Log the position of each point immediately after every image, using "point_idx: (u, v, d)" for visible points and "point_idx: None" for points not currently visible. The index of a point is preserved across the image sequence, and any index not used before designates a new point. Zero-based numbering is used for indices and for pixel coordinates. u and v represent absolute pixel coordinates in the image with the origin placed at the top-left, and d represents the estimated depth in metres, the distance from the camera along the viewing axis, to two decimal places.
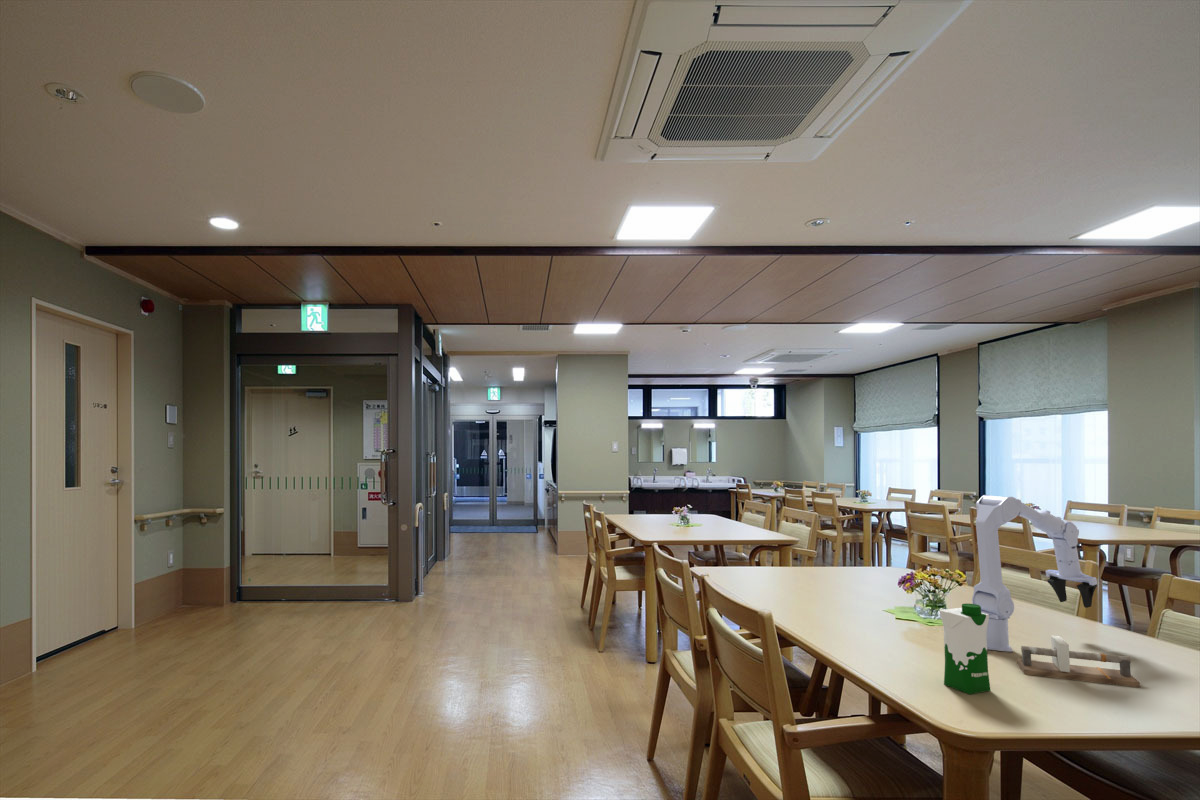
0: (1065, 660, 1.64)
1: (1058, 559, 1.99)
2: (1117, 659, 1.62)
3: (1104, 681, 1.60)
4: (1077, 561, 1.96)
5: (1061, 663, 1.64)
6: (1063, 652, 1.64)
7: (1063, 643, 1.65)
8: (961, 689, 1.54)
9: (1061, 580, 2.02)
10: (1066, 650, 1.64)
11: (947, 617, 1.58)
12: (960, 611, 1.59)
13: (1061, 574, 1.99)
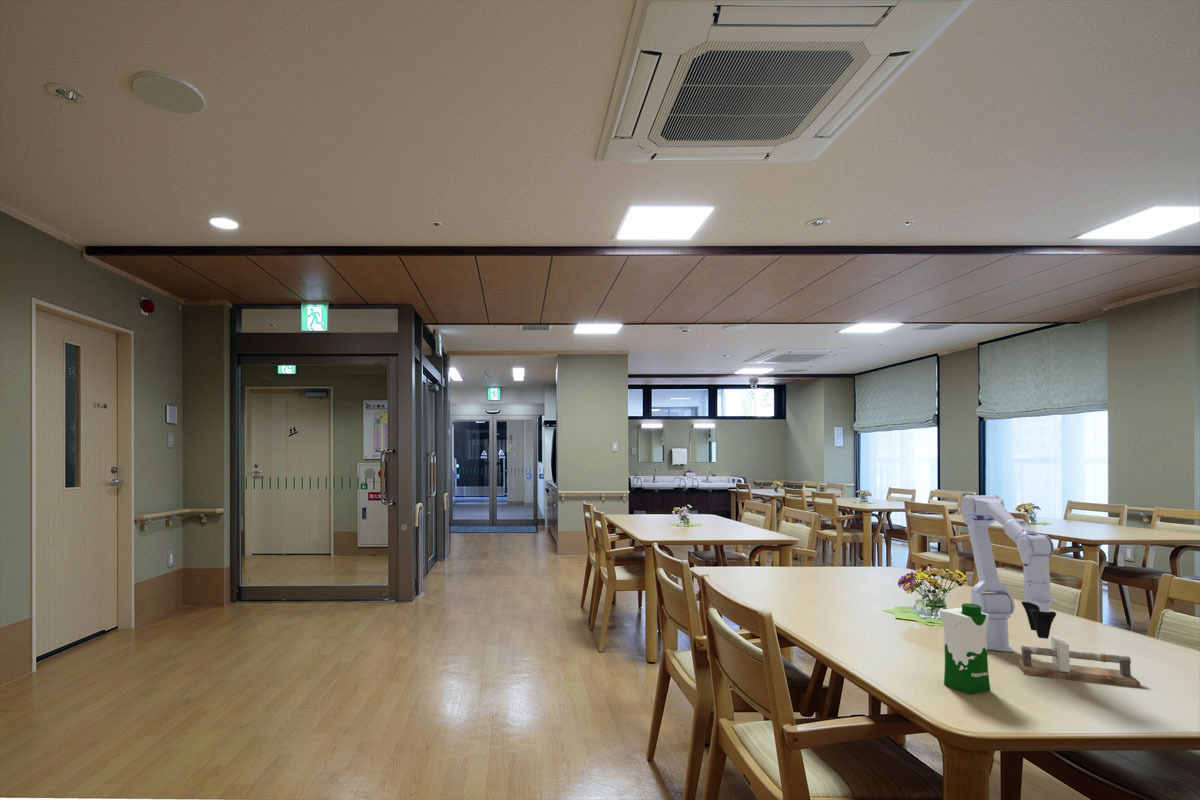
0: (1065, 660, 1.64)
1: None
2: (1117, 659, 1.62)
3: (1104, 681, 1.60)
4: (1041, 583, 1.68)
5: (1061, 663, 1.64)
6: (1063, 652, 1.64)
7: (1063, 643, 1.65)
8: (961, 689, 1.54)
9: (1037, 606, 1.73)
10: (1066, 650, 1.64)
11: (947, 617, 1.58)
12: (960, 611, 1.59)
13: None
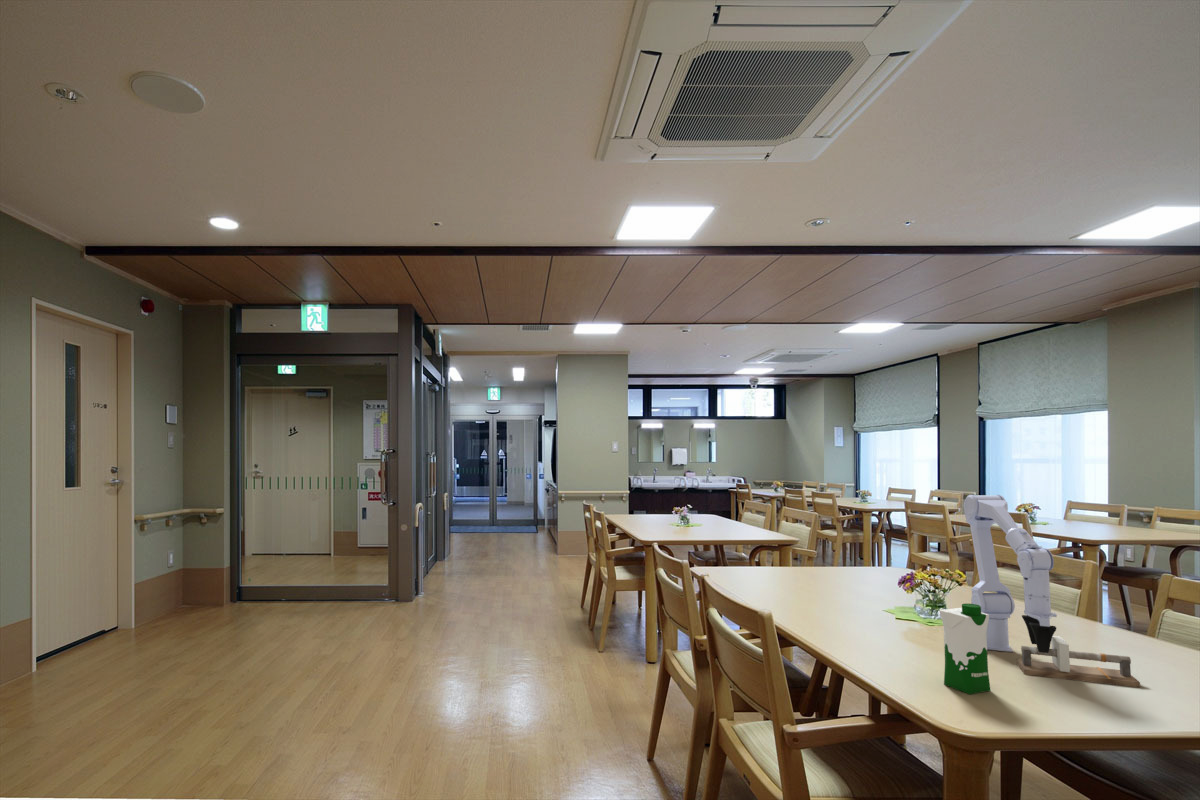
0: (1065, 660, 1.64)
1: None
2: (1117, 659, 1.62)
3: (1104, 681, 1.60)
4: (1041, 597, 1.68)
5: (1061, 663, 1.64)
6: (1063, 652, 1.64)
7: (1063, 643, 1.65)
8: (961, 689, 1.54)
9: (1037, 620, 1.73)
10: (1066, 650, 1.64)
11: (947, 617, 1.58)
12: (960, 611, 1.59)
13: None
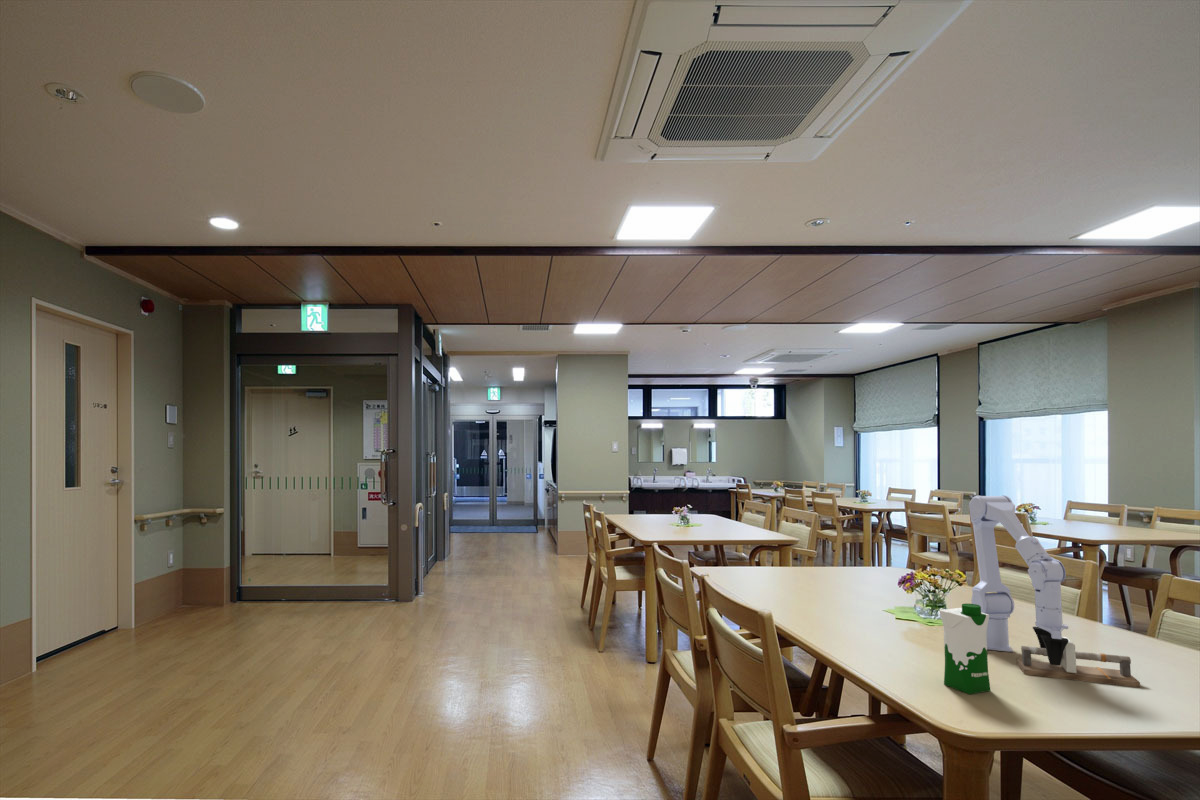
0: (1071, 661, 1.63)
1: None
2: (1117, 659, 1.62)
3: (1104, 681, 1.60)
4: (1053, 609, 1.67)
5: (1067, 664, 1.64)
6: (1069, 653, 1.64)
7: (1069, 644, 1.64)
8: (961, 689, 1.54)
9: (1049, 631, 1.72)
10: (1072, 651, 1.63)
11: (947, 617, 1.58)
12: (960, 611, 1.59)
13: (1036, 620, 1.71)
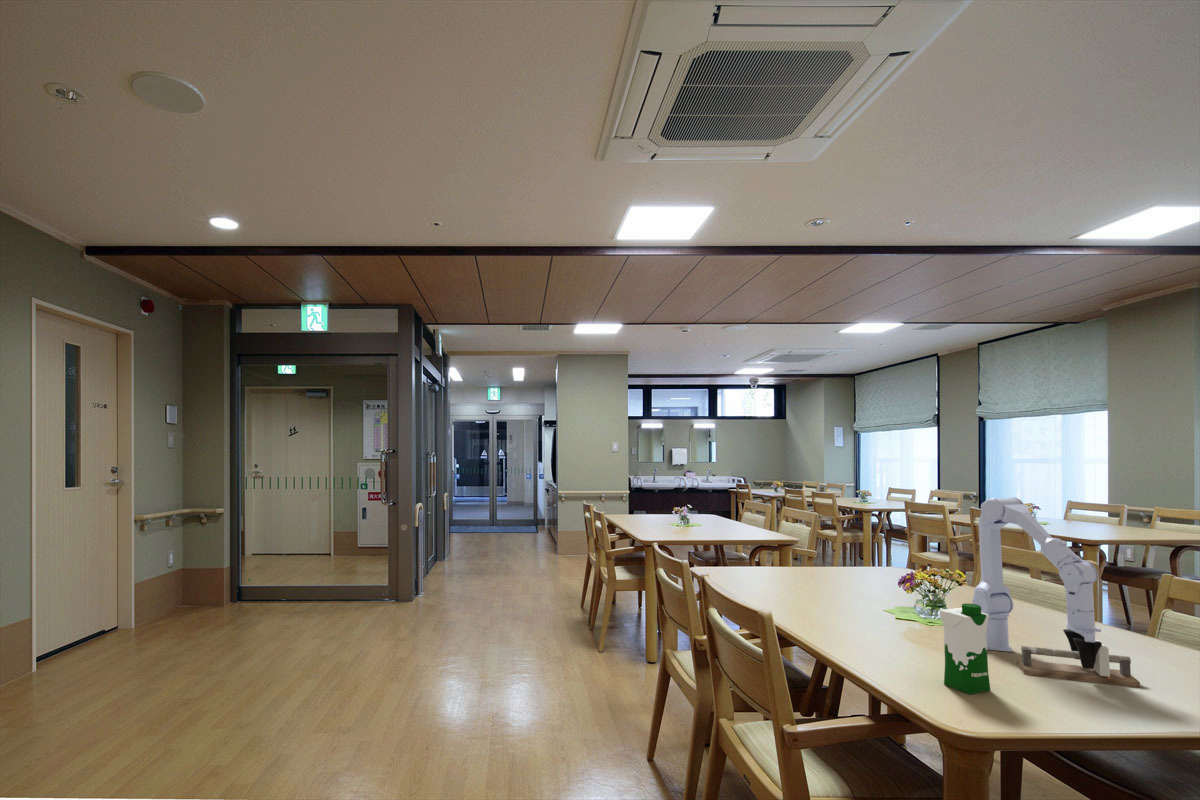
0: (1105, 664, 1.61)
1: None
2: (1117, 659, 1.62)
3: (1104, 681, 1.60)
4: (1085, 612, 1.64)
5: (1101, 667, 1.61)
6: (1103, 656, 1.61)
7: (1102, 647, 1.62)
8: (961, 689, 1.54)
9: (1080, 634, 1.69)
10: (1106, 654, 1.61)
11: (947, 617, 1.58)
12: (960, 611, 1.59)
13: None
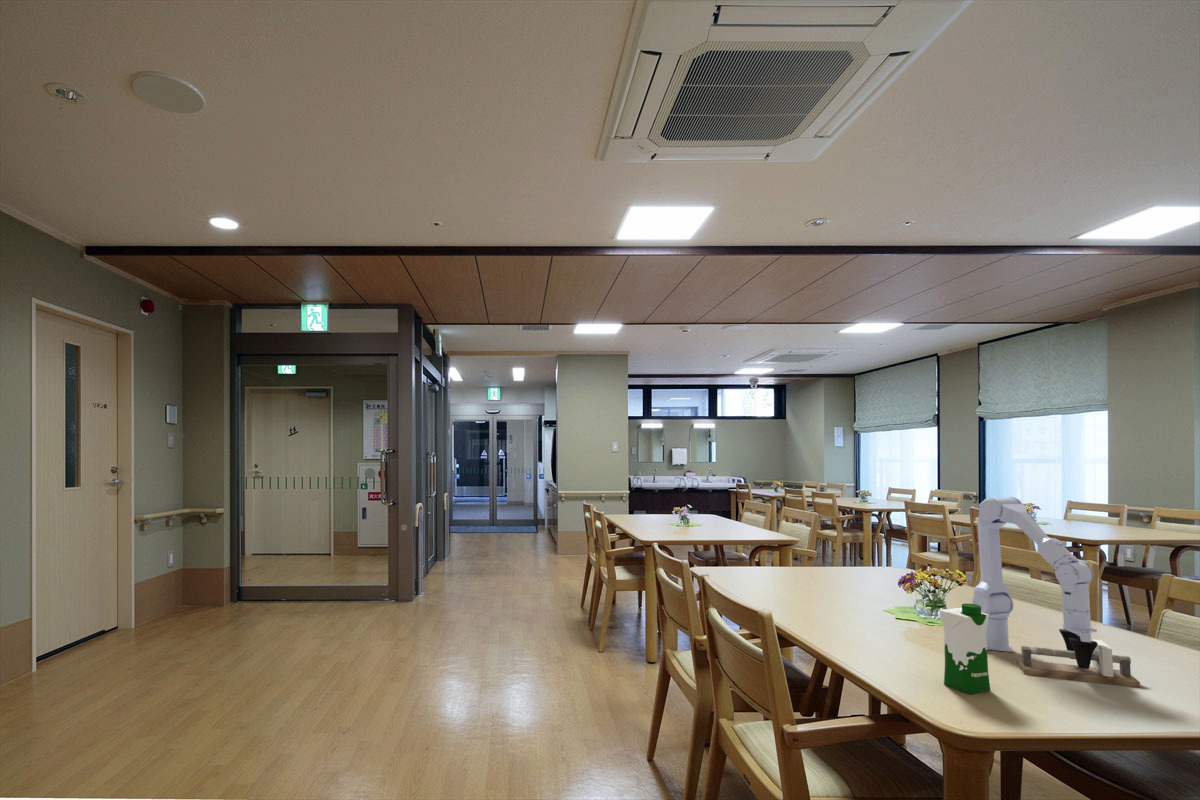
0: (1108, 665, 1.61)
1: None
2: (1117, 659, 1.62)
3: (1104, 681, 1.60)
4: (1081, 612, 1.64)
5: (1104, 668, 1.61)
6: (1106, 656, 1.61)
7: (1106, 647, 1.62)
8: (961, 689, 1.54)
9: (1076, 634, 1.70)
10: (1109, 654, 1.61)
11: (947, 617, 1.58)
12: (960, 611, 1.59)
13: (1063, 623, 1.68)
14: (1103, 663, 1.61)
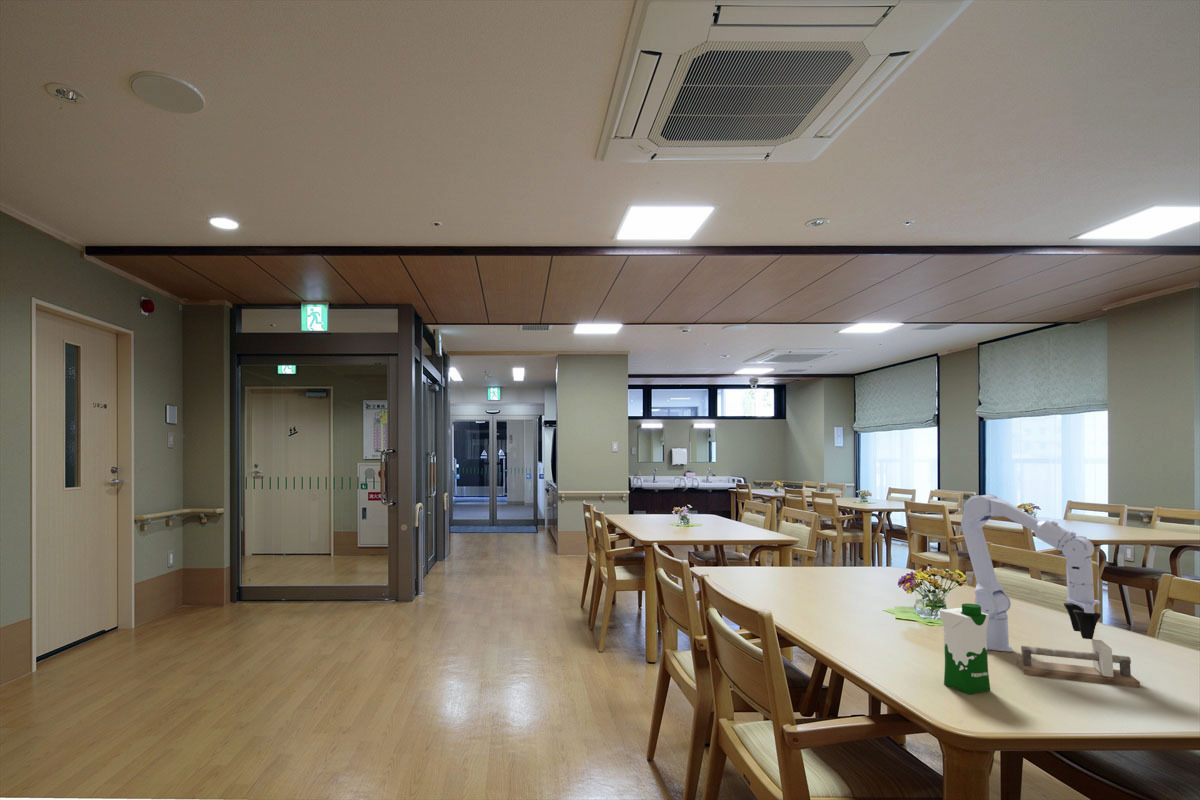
0: (1108, 665, 1.61)
1: None
2: (1117, 659, 1.62)
3: (1104, 681, 1.60)
4: (1085, 585, 1.71)
5: (1104, 668, 1.61)
6: (1106, 656, 1.61)
7: (1106, 647, 1.62)
8: (961, 689, 1.54)
9: (1080, 607, 1.76)
10: (1109, 654, 1.61)
11: (947, 617, 1.58)
12: (960, 611, 1.59)
13: None
14: (1103, 663, 1.61)
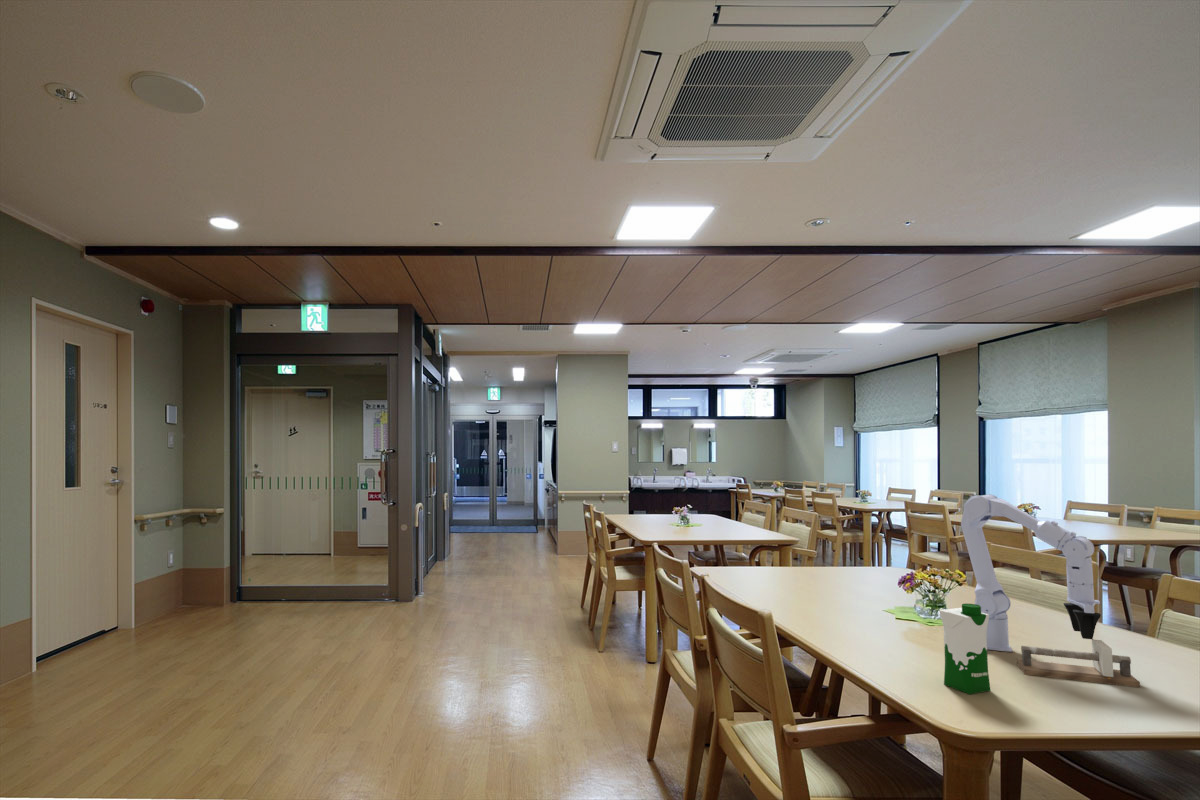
0: (1108, 665, 1.61)
1: None
2: (1117, 659, 1.62)
3: (1104, 681, 1.60)
4: (1085, 585, 1.71)
5: (1104, 668, 1.61)
6: (1106, 656, 1.61)
7: (1106, 647, 1.62)
8: (961, 689, 1.54)
9: (1080, 607, 1.76)
10: (1109, 654, 1.61)
11: (947, 617, 1.58)
12: (960, 611, 1.59)
13: None
14: (1103, 663, 1.61)
